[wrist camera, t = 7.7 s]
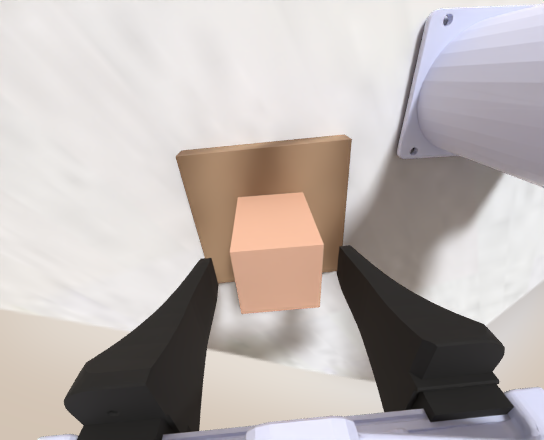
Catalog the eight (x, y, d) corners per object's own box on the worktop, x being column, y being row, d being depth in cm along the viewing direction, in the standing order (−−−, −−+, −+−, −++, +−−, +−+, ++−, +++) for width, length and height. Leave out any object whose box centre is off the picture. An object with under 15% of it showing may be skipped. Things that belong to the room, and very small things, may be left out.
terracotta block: (302, 192, 17) (323, 244, 12) (302, 244, 19) (319, 307, 14) (237, 197, 17) (229, 252, 11) (245, 248, 19) (241, 313, 14)
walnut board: (341, 132, 17) (351, 139, 15) (333, 255, 22) (340, 270, 21) (183, 148, 17) (175, 156, 15) (215, 267, 22) (212, 283, 21)
